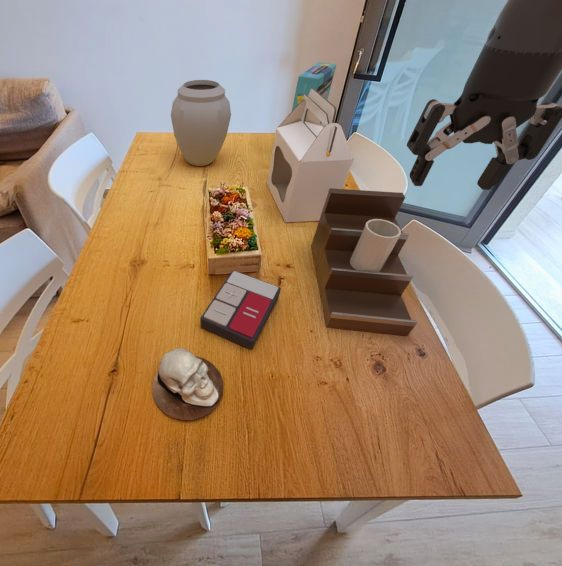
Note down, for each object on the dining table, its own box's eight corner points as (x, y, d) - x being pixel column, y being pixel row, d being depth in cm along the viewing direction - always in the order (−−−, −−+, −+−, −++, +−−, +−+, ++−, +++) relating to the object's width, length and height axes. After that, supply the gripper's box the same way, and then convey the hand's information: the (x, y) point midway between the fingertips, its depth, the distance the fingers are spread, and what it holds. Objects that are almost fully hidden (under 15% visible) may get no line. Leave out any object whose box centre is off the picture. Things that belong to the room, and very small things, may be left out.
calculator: (199, 316, 63) (232, 267, 71) (199, 329, 66) (231, 280, 74) (254, 339, 59) (282, 284, 67) (251, 352, 62) (278, 298, 70)
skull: (241, 375, 57) (221, 382, 47) (210, 425, 57) (185, 441, 48) (188, 336, 62) (161, 336, 53) (161, 382, 63) (130, 389, 54)
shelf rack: (407, 336, 63) (454, 275, 52) (326, 327, 65) (354, 267, 54) (373, 251, 82) (402, 192, 70) (310, 246, 83) (329, 188, 72)
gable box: (266, 183, 106) (283, 85, 87) (306, 182, 107) (332, 83, 87) (285, 223, 90) (311, 114, 71) (332, 221, 91) (371, 111, 71)
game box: (298, 169, 113) (319, 78, 94) (280, 164, 116) (298, 75, 97) (315, 147, 126) (337, 63, 107) (299, 144, 128) (318, 61, 109)
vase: (226, 150, 125) (231, 76, 108) (228, 174, 111) (235, 94, 94) (174, 150, 126) (171, 76, 108) (170, 174, 112) (166, 94, 95)
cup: (386, 265, 68) (406, 228, 61) (372, 278, 65) (391, 242, 58) (358, 251, 71) (375, 215, 64) (344, 263, 68) (359, 227, 62)
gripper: (471, 49, 33) (402, 195, 44) (637, 49, 31) (521, 202, 42) (442, 37, 38) (386, 171, 50) (582, 36, 37) (492, 176, 48)
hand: (448, 185), depth 46 cm, fingers open, 8 cm apart
